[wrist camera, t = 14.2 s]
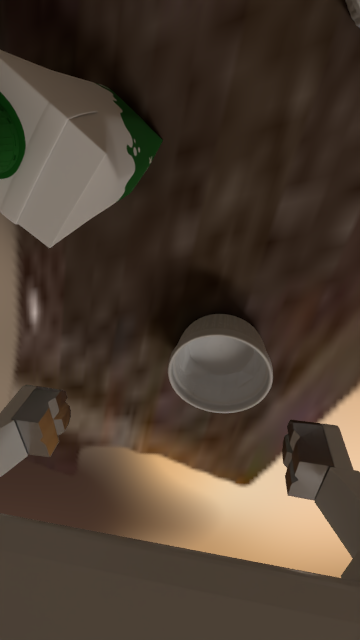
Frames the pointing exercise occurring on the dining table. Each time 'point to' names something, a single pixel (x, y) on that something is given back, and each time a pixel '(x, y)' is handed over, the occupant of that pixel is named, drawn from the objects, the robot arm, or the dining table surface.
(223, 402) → the ramekin
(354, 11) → the ramekin
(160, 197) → the dining table surface
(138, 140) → the milk carton
